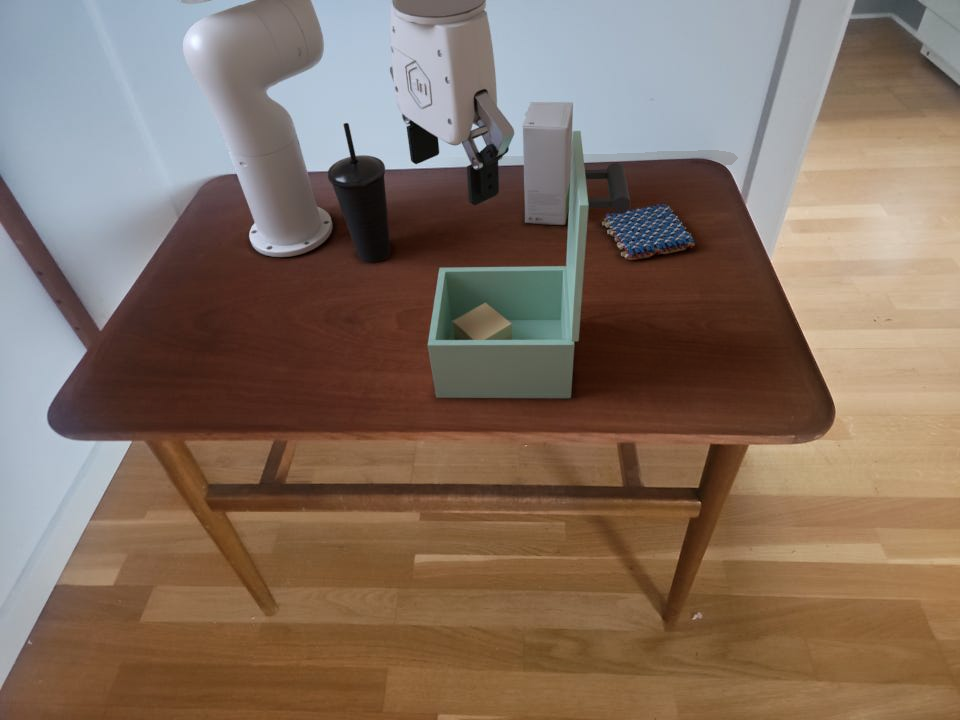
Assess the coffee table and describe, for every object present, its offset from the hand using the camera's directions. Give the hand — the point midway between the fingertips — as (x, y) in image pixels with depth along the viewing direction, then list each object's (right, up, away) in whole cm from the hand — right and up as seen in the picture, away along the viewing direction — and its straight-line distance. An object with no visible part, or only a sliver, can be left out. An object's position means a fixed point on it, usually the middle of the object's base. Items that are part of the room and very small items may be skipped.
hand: (453, 178), depth 64 cm
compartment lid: (+12, -6, +2) cm, 13 cm away
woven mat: (+27, 0, +31) cm, 41 cm away
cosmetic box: (+13, +5, +37) cm, 39 cm away
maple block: (+3, -17, +15) cm, 23 cm away
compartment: (+6, -18, +15) cm, 24 cm away
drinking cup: (-13, -2, +32) cm, 34 cm away
